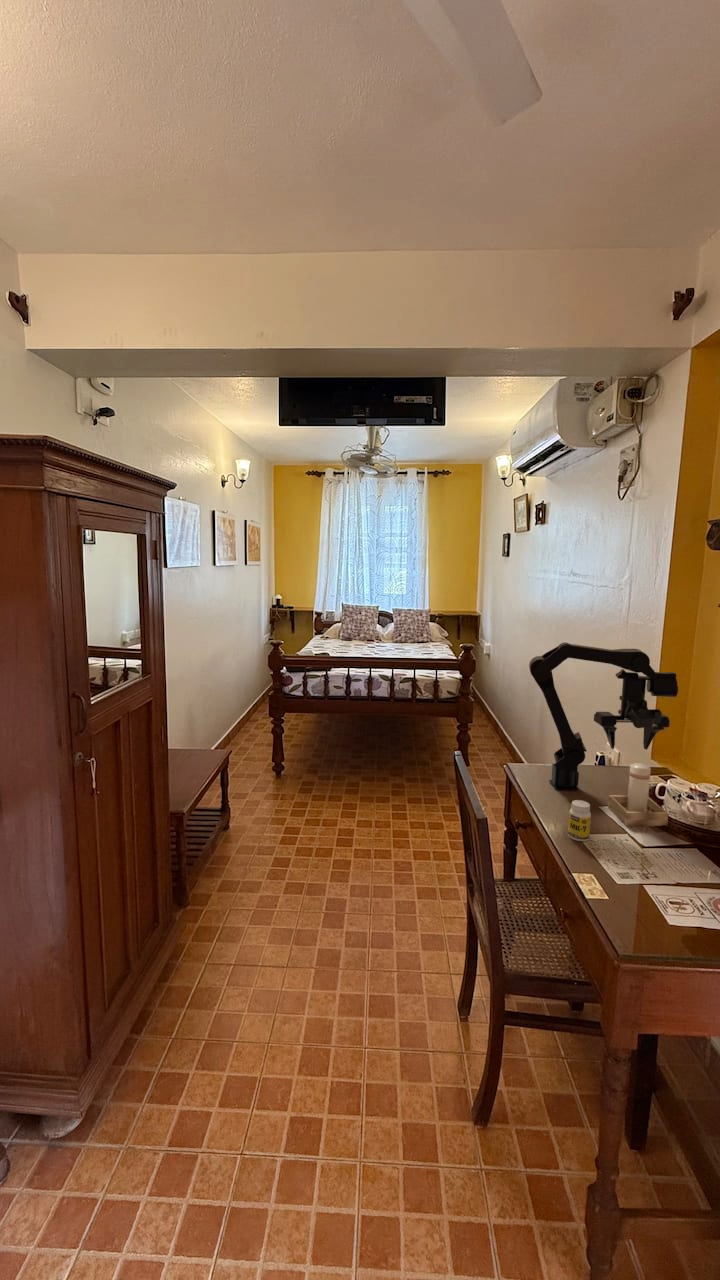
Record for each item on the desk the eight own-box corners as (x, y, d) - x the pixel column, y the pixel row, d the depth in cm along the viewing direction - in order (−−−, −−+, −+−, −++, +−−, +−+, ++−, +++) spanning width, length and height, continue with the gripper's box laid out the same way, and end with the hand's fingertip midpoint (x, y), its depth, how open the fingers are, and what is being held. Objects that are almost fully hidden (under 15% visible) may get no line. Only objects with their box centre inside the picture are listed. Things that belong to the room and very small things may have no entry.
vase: (633, 819, 138) (638, 770, 136) (622, 811, 143) (626, 763, 141) (650, 818, 139) (655, 769, 137) (638, 810, 143) (642, 762, 142)
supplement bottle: (566, 838, 129) (568, 805, 128) (569, 830, 133) (571, 797, 132) (588, 843, 127) (590, 809, 126) (590, 835, 131) (592, 801, 130)
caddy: (625, 826, 136) (626, 812, 135) (607, 807, 146) (608, 795, 145) (667, 826, 136) (668, 813, 135) (646, 808, 146) (647, 796, 145)
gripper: (612, 701, 144) (607, 758, 146) (683, 702, 143) (678, 759, 146) (594, 691, 155) (591, 744, 157) (661, 692, 154) (656, 745, 157)
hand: (628, 748), depth 154 cm, fingers open, 9 cm apart
